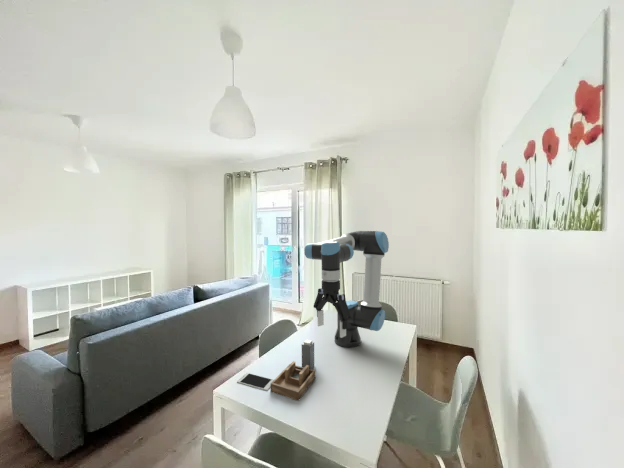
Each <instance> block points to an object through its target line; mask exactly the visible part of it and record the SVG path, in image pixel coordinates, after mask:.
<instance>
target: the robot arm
mask: <svg viewBox="0 0 624 468" xmlns="http://www.w3.org/2000/svg"><path fill="white" fill-rule="evenodd" d="M389 243H390V242H389V238H388V235H387V233H385V232H384V231H380V230H356V231H352V232H348V233H345V234H342V235H341V236H340V237H337V238H332V239H329V240H325V241H321V242H316V243H315V242H309V243H306V244H305V247H304V250H303V251H304V253H303V254H304V256H305V258H307V259H310V260H320V261H321V288H318V289H317V293H316V298H315V301H314V303H313V308H314V309H315V311H316V316H317V327H322V326H324V314H325V313H324V309H323V308H324V307H325V305H326V304H327V303H330V304H332V306H334V308H335V310H336V312H337V315H336V316H337V317H336V318H337V328H336V331H335V334H334V343H335V344H336V345H337V346H340V347H343V348H355V347H357V346H359V345H361V343H362V341H361V339H362V338H361V335H360V332H359V329H358V328H361V329H365V330H370V331H376V332H378V331H380V330H381V329H382V328H383V326H384V323H385V320H386V311H385V310H384V309H383V306H382V304H381V303H380V297H381V295H380V294H381V293H380V292H381V291H380V290H381V277H382V276H381V275H382V273H381V272H382V271H381V270H382V259H383V258H384V257H385V254H386V253H388V252H389V248H390V247H389V246H390V244H389ZM354 251H357V252H363V256H364V258H365V265H364V267H365V268H364V282H363V283H364V284H363V300H362V301H360V304H359V303H358V301H356V300H346V295H345V294H344V293H342V294H340V292H339V291H340V290H341V280H340V279H341V263H343V262H348V261H350V260H351V259H352V258H353V256H354V254H355V252H354Z"/></svg>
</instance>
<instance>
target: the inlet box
mask: <svg viewBox="0 0 624 468" xmlns="http://www.w3.org/2000/svg"><path fill="white" fill-rule="evenodd" d="M315 379H316V370H315V369H312V370H311V369H309V365H306V366H305V367H302V366H299V365H296V361H294V360H293V361H291V363H289V364H288V365H287V366H286V367H285V368H284V369H283V370H282V371H281V372H280V373H279V374H278V375H277V377H275V378H274V379H273V382H272V383H271V387H270V393H273V394H276V395H278V396H279V395H280V396H282V397H286V398H287V399H292V400H295V401H300V400H301V398H302V397H303V395H304V394H305V393H306V392H307V390H308V389H309V387H310V386H311V385H312V384H313V382H314V381H315Z"/></svg>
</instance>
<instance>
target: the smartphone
mask: <svg viewBox="0 0 624 468" xmlns="http://www.w3.org/2000/svg"><path fill="white" fill-rule="evenodd" d="M273 380H274V379H273V378H270V377H269V378H268V377H264V376H261V375H257V374H253V373H251V372H250V373H249V372H246V373H244V375H242V376H241V377H240V378H239V379H238V380H237V381H236V383H238V384H241V385H244V386H249V387H252V388H255V389H259V390H262V391H267V392H268V391H269V390H270V389H271V383H272V382H273Z"/></svg>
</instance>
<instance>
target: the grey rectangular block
mask: <svg viewBox="0 0 624 468" xmlns="http://www.w3.org/2000/svg"><path fill="white" fill-rule="evenodd" d="M306 365H309V369H311V370H314V368H315V342H314V341H313V340H310V339H305V340H304V341H303V343H302V344H301V367H305V366H306Z"/></svg>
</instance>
